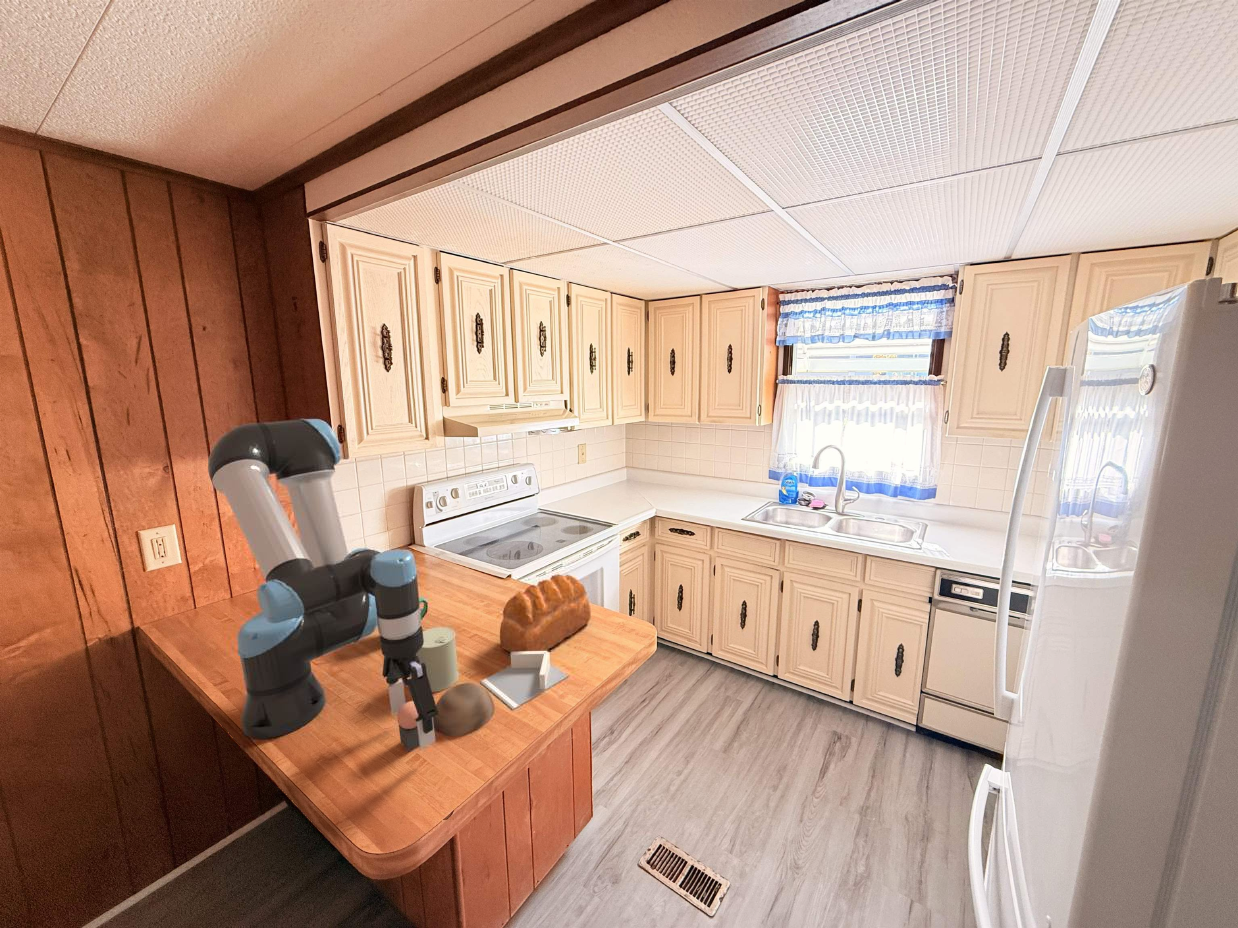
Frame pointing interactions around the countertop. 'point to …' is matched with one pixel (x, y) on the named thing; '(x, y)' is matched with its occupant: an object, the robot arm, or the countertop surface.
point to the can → (439, 657)
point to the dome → (463, 710)
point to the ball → (407, 715)
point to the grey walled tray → (524, 678)
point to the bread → (544, 614)
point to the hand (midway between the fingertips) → (412, 726)
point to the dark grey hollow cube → (409, 738)
